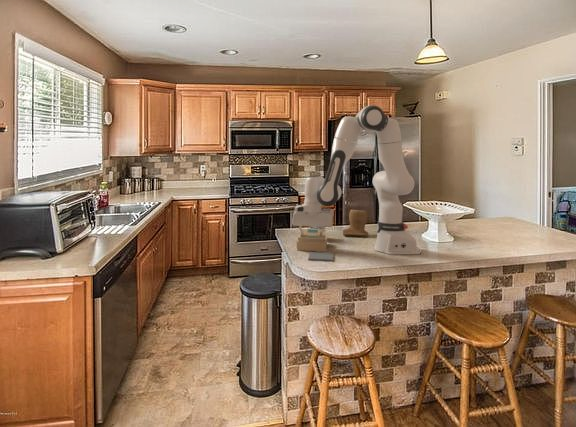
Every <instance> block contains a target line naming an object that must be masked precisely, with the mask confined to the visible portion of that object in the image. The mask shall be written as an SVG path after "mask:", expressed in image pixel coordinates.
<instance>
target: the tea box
mask: <svg viewBox="0 0 576 427" xmlns="http://www.w3.org/2000/svg"><path fill="white" fill-rule="evenodd" d="M307 229H308V230H307V238H318V229H313V228H310V227H307Z"/></svg>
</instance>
